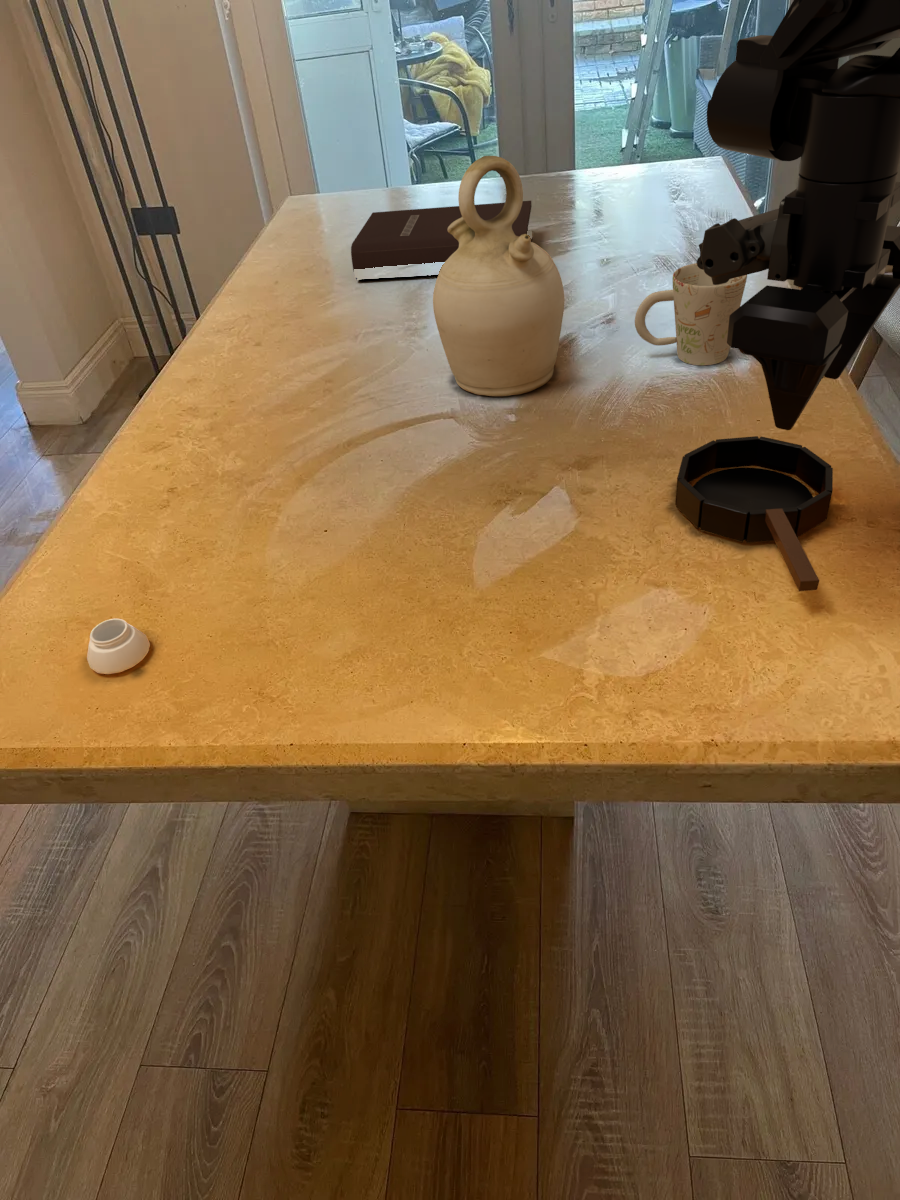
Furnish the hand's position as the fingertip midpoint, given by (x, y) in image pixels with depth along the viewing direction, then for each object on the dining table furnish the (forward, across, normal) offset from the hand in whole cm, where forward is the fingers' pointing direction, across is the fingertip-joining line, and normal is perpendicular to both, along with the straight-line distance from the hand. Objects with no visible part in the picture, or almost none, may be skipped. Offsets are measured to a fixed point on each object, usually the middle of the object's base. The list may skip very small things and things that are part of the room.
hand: (808, 401), depth 63 cm
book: (+14, -53, -79) cm, 96 cm away
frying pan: (+15, -3, -3) cm, 16 cm away
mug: (+15, -34, -26) cm, 45 cm away
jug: (+15, -20, -43) cm, 50 cm away
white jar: (+15, +39, -40) cm, 58 cm away
